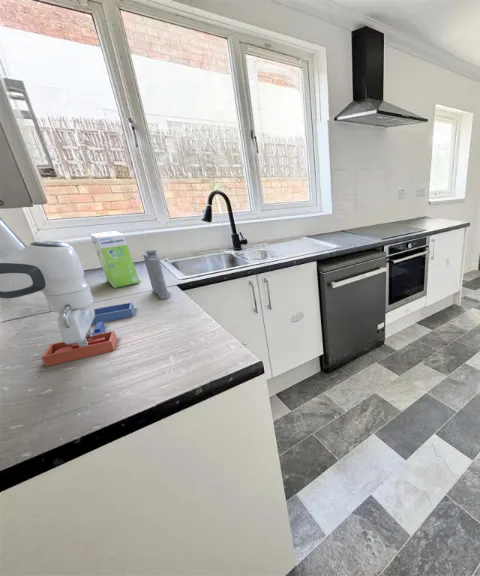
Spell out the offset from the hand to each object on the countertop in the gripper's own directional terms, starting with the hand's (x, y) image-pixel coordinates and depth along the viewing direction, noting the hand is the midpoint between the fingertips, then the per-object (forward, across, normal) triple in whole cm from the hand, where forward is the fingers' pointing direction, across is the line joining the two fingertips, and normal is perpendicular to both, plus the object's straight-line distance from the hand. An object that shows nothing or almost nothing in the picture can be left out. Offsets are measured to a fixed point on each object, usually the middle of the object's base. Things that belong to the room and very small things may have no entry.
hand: (87, 344), depth 89 cm
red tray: (+3, 0, +1) cm, 3 cm away
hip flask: (+3, +45, -18) cm, 49 cm away
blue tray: (+3, +27, -2) cm, 27 cm away
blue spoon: (+3, +12, -1) cm, 12 cm away
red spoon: (+2, 0, +1) cm, 3 cm away
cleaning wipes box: (+3, +79, -2) cm, 79 cm away
